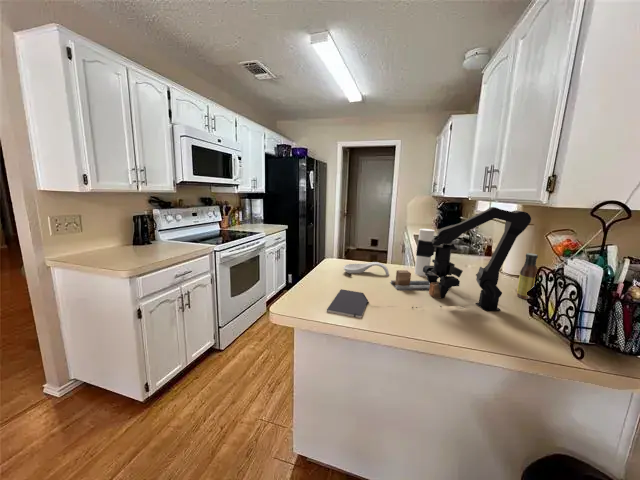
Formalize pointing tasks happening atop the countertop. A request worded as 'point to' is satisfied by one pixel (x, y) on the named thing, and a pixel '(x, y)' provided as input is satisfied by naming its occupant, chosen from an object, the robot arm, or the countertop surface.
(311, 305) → the countertop surface
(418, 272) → the cylindrical container
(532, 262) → the sauce bottle
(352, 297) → the notebook
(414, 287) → the rail
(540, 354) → the countertop surface
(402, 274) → the fixed walnut finger
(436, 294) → the brown wooden block
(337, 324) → the countertop surface
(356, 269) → the spoon rest
